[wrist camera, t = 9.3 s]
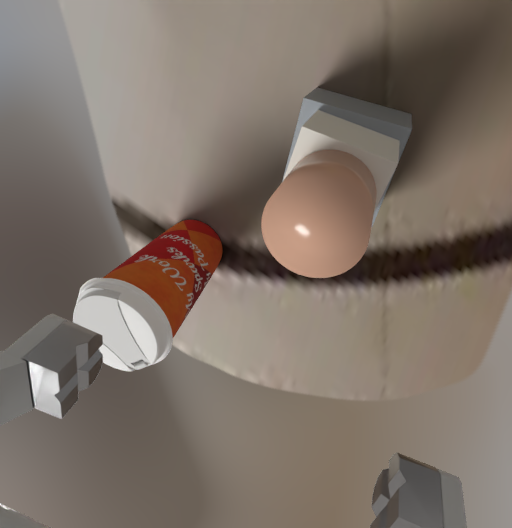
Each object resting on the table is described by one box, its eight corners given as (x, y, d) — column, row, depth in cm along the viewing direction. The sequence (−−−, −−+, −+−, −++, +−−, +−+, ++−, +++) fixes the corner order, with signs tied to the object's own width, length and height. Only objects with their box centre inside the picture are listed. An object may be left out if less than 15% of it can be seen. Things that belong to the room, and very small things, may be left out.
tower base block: (317, 87, 31) (303, 97, 27) (411, 113, 30) (412, 129, 26) (293, 175, 35) (278, 196, 31) (376, 201, 34) (371, 227, 30)
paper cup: (248, 263, 40) (184, 362, 29) (190, 289, 44) (113, 386, 32) (201, 193, 38) (112, 270, 27) (145, 227, 42) (45, 308, 30)
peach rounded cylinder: (298, 137, 23) (274, 163, 19) (391, 165, 23) (387, 198, 18) (277, 220, 26) (252, 258, 22) (358, 247, 25) (349, 291, 21)
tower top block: (317, 109, 27) (301, 126, 23) (399, 140, 26) (398, 163, 22) (290, 186, 30) (271, 212, 26) (363, 215, 30) (356, 247, 25)
